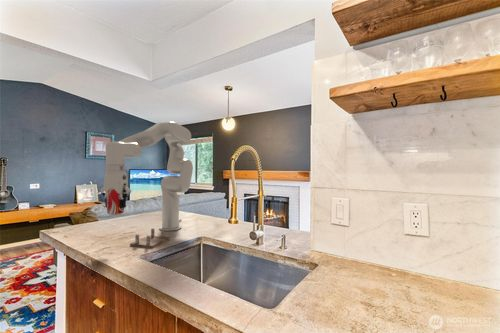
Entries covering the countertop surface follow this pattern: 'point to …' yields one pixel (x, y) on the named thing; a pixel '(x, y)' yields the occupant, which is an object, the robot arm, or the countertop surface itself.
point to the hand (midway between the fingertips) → (115, 207)
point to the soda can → (113, 203)
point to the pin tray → (150, 240)
